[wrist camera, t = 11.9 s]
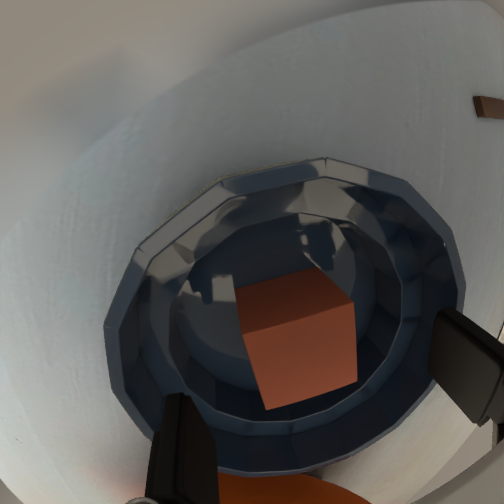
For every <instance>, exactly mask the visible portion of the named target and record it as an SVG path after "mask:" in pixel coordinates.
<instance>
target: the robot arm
mask: <svg viewBox="0 0 504 504" xmlns="http://www.w3.org/2000/svg"><path fill="white" fill-rule="evenodd" d="M427 371H428V373H429V375H430V376H431V377H432V378H433V379H434V380H435V381H436V382H437V383H438V384H439V385H440V387H441V388H442V389H443V390H444V391H445V392H446V393H447V394H448V395H449V397H450V398H451V399H452V400H453V401H454V402H455V403H456V404H457V406H458V407H459V408H460V409H461V410H462V411H463V412H464V414H465V415H466V416H467V417H468V418H469V419H470V421H471V422H472V423H477V425H478V426H479V427H481V426H482V425H484V424H485V423H486V422H487V421H488V420H489V419H490V418H491V419H492V421H493V435H492V450H490V451H489V452H488V453H487V454H486V455H484V456H483V457H482V458H481V459H479V460H478V461H477V462H475V463H474V464H473V465H471V466H470V467H469V468H467V469H466V470H465V471H463V472H462V473H460V474H459V475H458V476H456V477H455V478H453V479H452V480H450V481H449V482H447V483H446V484H444V485H443V486H441V487H439V488H438V489H436V490H434V491H433V492H431V493H429V494H428V495H426V496H424V497H423V498H421V499H419V500H417V501H415V502H413V503H411V504H504V344H502V343H501V342H500V341H498V340H497V339H496V338H495V337H493V336H492V335H491V334H489V333H488V332H486V331H485V330H484V329H482V328H481V327H480V326H478V325H477V324H476V323H474V322H473V321H471V320H470V319H469V318H467V317H466V316H464V315H463V314H462V313H460V312H459V311H457V310H456V309H454V308H453V307H451V306H447V307H445V308H443V309H441V310H439V311H438V312H437V313H436V316H435V318H434V322H433V331H432V338H431V345H430V351H429V357H428V363H427ZM126 504H220V499H219V485H218V468H217V448H216V441H215V438H214V436H213V435H212V433H211V431H210V430H209V428H208V426H207V424H206V423H205V421H204V419H203V418H202V416H201V414H200V412H199V410H198V409H197V407H196V405H195V403H194V401H193V400H192V398H191V396H190V395H185V394H184V393H183V392H180V393H173V394H167V395H166V399H165V405H164V412H163V418H162V425H161V430H158V431H156V432H155V433H154V435H153V440H152V446H151V453H150V459H149V466H148V474H147V481H146V489H145V497H139V498H134V499H132V500H130V501H128V502H127V503H126Z"/></svg>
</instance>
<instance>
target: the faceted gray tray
mask: <svg viewBox="0 0 504 504" xmlns="http://www.w3.org/2000/svg"><path fill="white" fill-rule="evenodd" d="M313 267H318V268H319V269H320V270H321V271H322V272H323V273H324V274H325V275H327V276H328V277H329V278H330V279H331V280H332V281H333V282H334V283H335V284H336V285H337V286H338V287H339V288H340V289H341V290H342V291H343V292H344V293H345V294H346V295H347V296H348V297H349V298H350V299H351V300H352V301H353V302H354V312H355V327H356V348H357V381H356V382H354V383H351V384H349V385H346V386H343V387H341V388H338V389H335V390H332V391H329V392H327V393H324V394H321V395H318V396H315V397H311V398H308V399H305V400H302V401H298V402H295V403H292V404H288V405H285V406H281V407H277V408H274V409H270V410H266V409H265V406H264V403H263V400H262V397H261V394H260V391H259V388H258V385H257V382H256V379H255V376H254V372H253V369H252V366H251V363H250V360H249V357H248V354H247V350H246V347H245V344H244V341H243V337H242V333H241V327H240V322H239V316H238V310H237V304H236V298H235V292H234V289H236V288H240V287H243V286H247V285H251V284H255V283H259V282H262V281H266V280H270V279H273V278H277V277H281V276H284V275H288V274H292V273H295V272H299V271H302V270H306V269H309V268H313ZM465 291H466V282H465V277H464V273H463V269H462V265H461V261H460V257H459V253H458V249H457V246H456V242H455V239H454V236H453V232H452V230H451V228H450V227H449V226H448V225H447V223H446V222H445V221H444V220H443V219H442V218H441V217H440V215H439V214H438V213H437V212H436V211H435V210H434V209H433V208H432V207H431V206H430V204H429V203H428V202H427V201H426V200H425V199H424V198H423V197H422V196H421V195H420V194H419V193H418V192H417V191H416V190H415V189H414V188H413V187H412V186H411V185H410V184H409V183H408V182H407V181H405V180H403V179H400V178H397V177H394V176H391V175H388V174H385V173H381V172H378V171H375V170H372V169H368V168H365V167H361V166H358V165H354V164H351V163H347V162H343V161H339V160H335V159H332V158H328V157H326V158H323V157H320V158H312V159H305V160H298V161H291V162H284V163H279V164H274V165H269V166H265V167H260V168H256V169H251V170H247V171H243V172H239V173H234V174H230V175H226V176H222V177H220V178H217V179H216V180H215V181H213V182H212V183H211V184H209V185H208V186H207V187H205V188H204V189H203V190H201V191H200V192H199V193H197V194H196V195H195V196H194V197H192V198H191V199H190V200H188V201H187V202H186V203H185V204H183V205H182V206H181V207H180V208H178V209H177V210H176V211H175V212H173V213H172V214H171V215H170V216H168V217H167V218H166V219H165V220H164V221H163V222H162V223H161V224H160V225H159V226H157V227H156V228H155V229H154V230H153V231H152V232H151V233H150V234H149V235H148V236H147V237H146V238H145V239H144V240H143V241H142V242H141V243H140V244H139V245H138V246H137V247H136V249H135V251H134V253H133V255H132V257H131V259H130V262H129V264H128V266H127V268H126V270H125V273H124V275H123V277H122V279H121V282H120V284H119V286H118V289H117V291H116V293H115V296H114V298H113V301H112V303H111V306H110V308H109V311H108V313H107V316H106V318H105V321H104V325H103V328H104V339H105V348H106V356H107V363H108V370H109V377H110V383H111V389H112V391H113V393H114V395H115V396H116V398H117V399H118V400H119V402H120V403H121V405H122V406H123V408H124V409H125V411H126V412H127V413H128V415H129V416H130V418H131V419H132V420H133V422H134V423H135V424H136V426H137V427H138V428H139V430H140V431H141V432H142V433H143V435H144V436H145V437H146V438H147V439H149V440H150V441H152V440H153V435H154V433H155V432H156V431H158V430H161V425H162V418H163V412H164V405H165V399H166V395H167V394H173V393H180V392H183V393H184V394H185V395H190V396H191V398H192V400H193V401H194V403H195V405H196V407H197V409H198V410H199V412H200V414H201V416H202V418H203V419H204V421H205V423H206V424H207V426H208V428H209V430H210V431H211V433H212V435H213V436H214V438H215V441H216V448H217V468H218V472H220V473H225V474H230V475H235V476H241V477H270V476H284V475H294V474H301V473H305V472H308V471H311V470H315V469H318V468H321V467H324V466H327V465H330V464H333V463H336V462H339V461H341V460H344V459H347V458H349V457H351V456H354V455H355V454H357V453H359V452H360V451H362V450H364V449H365V448H367V447H369V446H370V445H372V444H373V443H375V442H376V441H378V440H380V439H381V438H383V437H384V436H386V435H387V434H388V433H390V432H391V431H393V430H394V429H396V427H398V426H399V425H400V424H401V423H402V422H403V421H404V420H405V419H406V418H407V417H408V416H409V415H410V414H411V413H412V412H413V411H414V410H415V409H416V408H417V406H418V405H419V404H420V403H421V402H422V401H423V400H424V399H425V398H426V396H427V395H428V394H429V393H430V392H431V391H432V389H433V388H434V387H435V385H436V383H437V382H436V381H435V380H434V379H433V378H432V377H431V376H430V375H429V373H428V371H427V363H428V357H429V351H430V345H431V338H432V331H433V322H434V318H435V316H436V313H437V312H438V311H439V310H441V309H443V308H445V307H447V306H451V307H453V308H454V309H456V310H457V311H459V312H460V313H462V314H463V308H464V300H465Z"/></svg>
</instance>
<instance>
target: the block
mask: <svg viewBox="0 0 504 504" xmlns="http://www.w3.org/2000/svg"><path fill="white" fill-rule="evenodd" d="M234 292H235V298H236V304H237V310H238V316H239V322H240V327H241V333H242V337H243V341H244V344H245V347H246V350H247V354H248V357H249V360H250V363H251V366H252V369H253V372H254V376H255V379H256V382H257V385H258V388H259V391H260V394H261V397H262V400H263V403H264V406H265V409H266V410H270V409H274V408H277V407H281V406H285V405H288V404H292V403H295V402H298V401H302V400H305V399H308V398H311V397H315V396H318V395H321V394H324V393H327V392H329V391H332V390H335V389H338V388H341V387H343V386H346V385H349V384H351V383H354V382H356V381H357V348H356V327H355V312H354V302H353V301H352V300H351V299H350V298H349V297H348V296H347V295H346V294H345V293H344V292H343V291H342V290H341V289H340V288H339V287H338V286H337V285H336V284H335V283H334V282H333V281H332V280H331V279H330V278H329V277H328V276H327V275H325V274H324V273H323V272H322V271H321V270H320V269H319V268H318V267H313V268H309V269H306V270H302V271H299V272H295V273H292V274H288V275H284V276H281V277H277V278H273V279H270V280H266V281H262V282H259V283H255V284H251V285H247V286H243V287H240V288H236V289H234Z"/></svg>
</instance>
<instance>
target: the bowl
mask: <svg viewBox="0 0 504 504" xmlns="http://www.w3.org/2000/svg"><path fill="white" fill-rule="evenodd" d="M218 485H219V499H220V504H371V503H370V502H368V501H367V500H365V499H364V498H362V497H360V496H358V495H356V494H354V493H353V492H351V491H349V490H347V489H344V488H342V487H339V486H337V485H335V484H332V483H329V482H326V481H323V480H321V479H318V478H314V477H311V476H308V475H305V474H303V473H301V474H294V475H284V476H270V477H241V476H235V475H230V474H225V473H220V472H218Z"/></svg>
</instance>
